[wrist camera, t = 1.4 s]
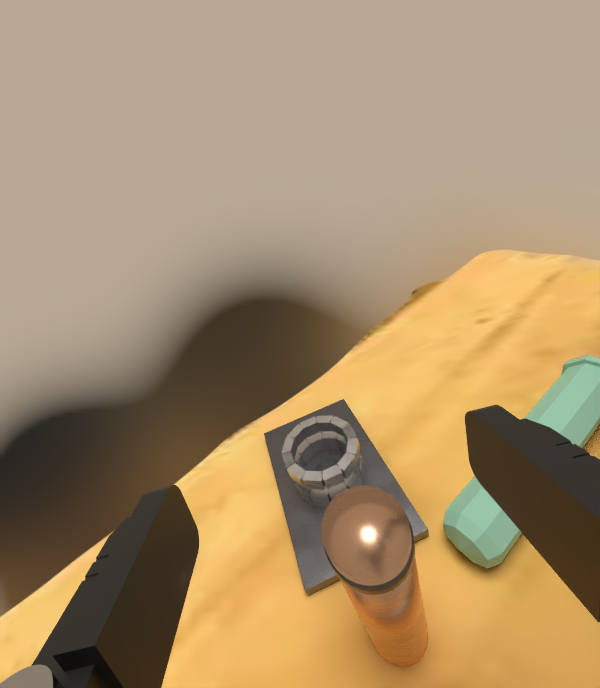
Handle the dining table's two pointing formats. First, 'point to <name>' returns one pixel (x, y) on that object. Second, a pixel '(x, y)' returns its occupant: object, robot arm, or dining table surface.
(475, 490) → the container
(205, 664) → the dining table surface
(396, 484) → the stove plate
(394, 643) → the metal tube
